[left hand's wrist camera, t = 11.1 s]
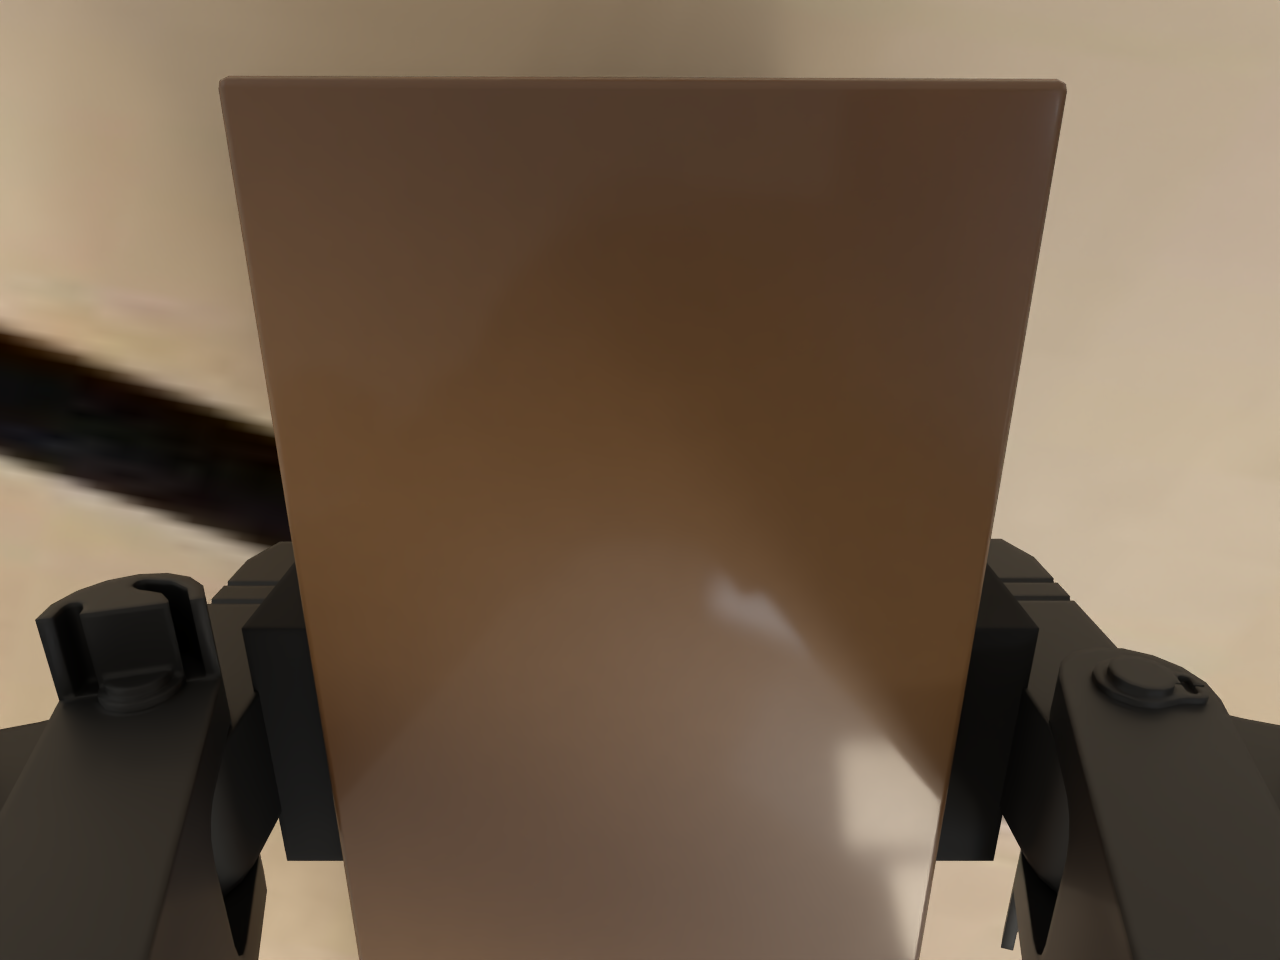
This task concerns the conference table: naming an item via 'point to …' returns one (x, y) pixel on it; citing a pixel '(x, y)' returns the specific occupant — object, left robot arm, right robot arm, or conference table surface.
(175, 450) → the conference table surface
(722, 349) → the beam
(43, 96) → the conference table surface
